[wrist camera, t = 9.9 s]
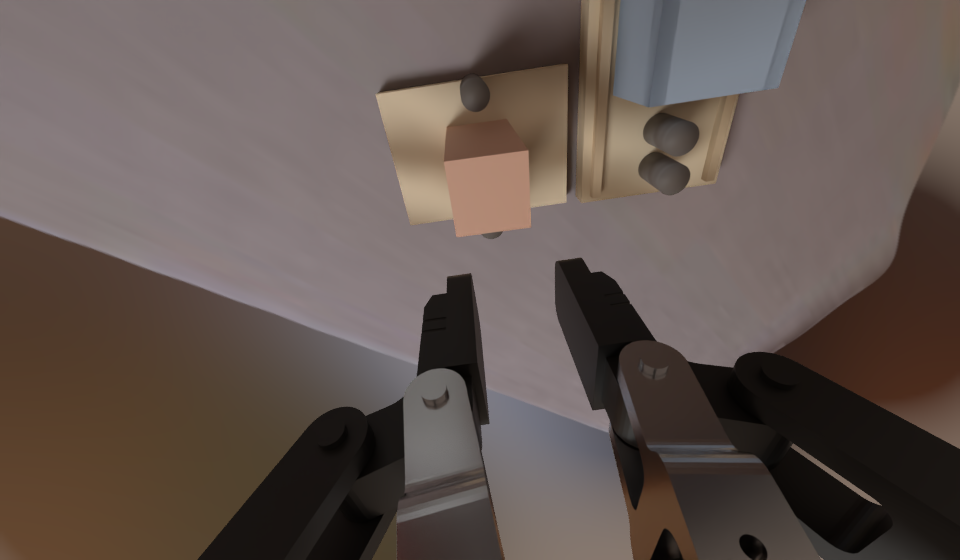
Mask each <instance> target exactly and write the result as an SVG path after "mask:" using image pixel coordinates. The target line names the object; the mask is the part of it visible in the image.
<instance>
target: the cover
mask: <svg viewBox="0 0 960 560" xmlns="http://www.w3.org/2000/svg"><path fill="white" fill-rule="evenodd" d="M805 3H806V0H620V12H619V25H618V37H617V50H616V62H615V75H614V87H613V96H616V97H619V98H622V99H625V100H628V101H631V102H634V103H637V104H640V105H643V106H646V107H655V106H662V105H669V104H675V103H682V102H688V101H695V100H701V99H708V98H715V97H721V96H728V95H734V94H741V93H747V92H754V91H761V90H767V89H774V88H778V87H779V84H780V81H781V78H782V75H783V72H784V68H785V65H786V62H787V59H788V56H789V53H790V50H791V47H792V43H793V40H794V37H795V34H796V31H797V28H798V25H799V21H800V18H801V15H802V12H803V9H804V6H805Z"/></svg>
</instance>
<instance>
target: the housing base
mask: <svg viewBox="0 0 960 560" xmlns="http://www.w3.org/2000/svg"><path fill="white" fill-rule="evenodd" d="M619 12H620V0H581V27H580V61H579V95H578V129H577V163H576V197H577V198H578V199H579V201H580V202H581V203H585V202H591V201H598V200H605V199H612V198H619V197H625V196H632V195H639V194H646V193H653V192H659V191H660V192H662V193H663V194H665V195H674V194H677V193H679V192H680V191H682V190H683V189H684V188H687V187H693V186H700V185H707V184H714V183H716V180H717V176H718V172H719V168H720V165H721V161H722V157H723V153H724V149H725V146H726V142H727V138H728V134H729V131H730V127H731V123H732V119H733V115H734V112H735V108H736V104H737V100H738V97H739V94H734V95H728V96H721V97H715V98H708V99H701V100H695V101H688V102H682V103H675V104H669V105H662V106H655V107H646V106H643V105H640V104H637V103H634V102H631V101H628V100H625V99H622V98H619V97H616V96H613V87H614V75H615V62H616V50H617V37H618V25H619Z"/></svg>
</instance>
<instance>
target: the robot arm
mask: <svg viewBox="0 0 960 560" xmlns="http://www.w3.org/2000/svg"><path fill="white" fill-rule="evenodd" d="M555 305H556V312H557V317H558V320H559V323H560V326H561V328H562V331H563V334H564V336H565V339H566V342H567V344H568V347H569V349H570V352H571V355H572V357H573V360H574V363H575V365H576V368H577V371H578V373H579V376H580V379H581V381H582V384H583V386H584V389H585V392H586V394H587V397H588V400H589V402H590V405H591V408H592V410H599V409H605V410H606V412H607V414H608V417H609V419H610V423H609V436H610V440H611V444H612V449H613V453H614V457H615V461H616V465H617V469H618V473H619V477H620V482H621V486H622V490H623V494H624V498H625V502H626V506H627V511H628V516H629V523H630V540H631V547H632V554H633V559H634V560H821V559H820V557H821V558H823V559H824V560H960V449H959V448H957V447H955V446H953V445H951V444H949V443H947V442H946V441H944V440H942V439H940V438H938V437H936V436H934V435H932V434H930V433H928V432H927V431H925V430H923V429H921V428H919V427H917V426H916V425H914V424H912V423H910V422H908V421H906V420H904V419H902V418H901V417H899V416H897V415H895V414H893V413H891V412H889V411H887V410H885V409H884V408H882V407H880V406H878V405H876V404H874V403H872V402H870V401H869V400H867V399H865V398H863V397H861V396H859V395H857V394H855V393H853V392H852V391H850V390H848V389H846V388H844V387H842V386H840V385H838V384H837V383H835V382H833V381H831V380H829V379H827V378H825V377H824V376H822V375H820V374H818V373H816V372H814V371H812V370H810V369H808V368H807V367H804V366H803V365H801V364H799V363H797V362H795V361H793V360H791V359H789V358H786V357H784V356H780V355H777V354H773V353H767V352H752V353H747V354H744V355H742V356H741V357H739V358H738V359H737V361H736V363H735V365H734V368H731V367H722V366H714V365H705V364H698V363H693V362H689V361H687V360H686V359H685V357H684V356H683V355H682V354H681V353H679V352H678V351H677V350H675V349H674V348H672V347H670V346H668V345H666V344H663V343H660V342H657V341H656V340H655V338H654V337H653V335H652V334H651V332H650V331H649V330H648V328H647V327H646V325H645V324H644V322H643V321H642V319H641V318H640V316H639V315H638V313H637V312H636V310H635V309H634V307H633V306H632V304H630V301H629V300H628V299H627V297H626V296H625V294H623V291H622V290H621V288H620V287H619V285H618V284H617V282H616V281H615V280H614V279H612V278H611V277H609V276H608V275H606V274H605V273H603V272H602V271H601V272H594V273H591V272H590V271H589V269H588V267H587V265H586V264H585V262H584V260H583V259H582V258H575V259H568V260H561V261H556V263H555ZM485 424H489V414H488V403H487V393H486V382H485V371H484V361H483V350H482V340H481V330H480V322H479V315H478V309H477V303H476V297H475V292H474V286H473V280H472V275H471V273H469V274H462V275H456V276H449V277H447V293H446V294H439V295H432V297H431V298H430V300H429V301H428V303H427V304H426V306H425V307H424V315H423V325H422V334H421V343H420V352H419V362H418V371H417V377H416V378H415V379H414V380H413V381H412V382H411V383H410V385H409V386H408V387H407V389H406V391H405V394H404V397H403V398H402V399H400V400H399V401H397V402H396V403H394V404H392V405H390V406H388V407H386V408H384V409H381V410H379V411H376V412H374V413H372V414H369V415H367V416H365V415H364V414H363V413H362V412H361V411H360V410H358V409H356V408H353V407H340V408H336V409H333V410H330V411H328V412H326V413H325V414H323V415H321V416H320V417H319V418H317V419H316V420H315V421H314V422H313V423H312V424H311V425H310V426H309V427H308V428H307V429H306V430H305V431H304V433H303V434H302V435H301V436H300V437H299V439H298V440H297V441H296V442H295V443H294V445H293V446H292V447H291V448H290V449H289V451H288V452H287V453H286V454H285V455H284V457H283V458H282V459H281V460H280V462H279V463H278V464H277V465H276V466H275V467H274V469H273V470H272V471H271V472H270V473H269V475H268V476H267V477H266V478H265V479H264V481H263V482H262V483H261V484H260V485H259V487H258V488H257V489H256V490H255V491H254V493H253V494H252V495H251V496H250V497H249V499H248V500H247V501H246V502H245V503H244V505H243V506H242V507H241V508H240V509H239V511H238V512H237V513H236V514H235V515H234V516H233V518H232V519H231V520H230V521H229V523H228V524H227V525H226V526H225V527H224V528H223V530H222V531H221V532H220V533H219V534H218V536H217V537H216V538H215V539H214V541H213V542H212V543H211V544H210V545H209V547H208V548H207V549H206V550H205V551H204V552H203V554H202V555H201V556H200V557H199V558H198V560H372V558H373V555H374V554H375V552H376V550H377V548H378V546H379V544H380V543H381V541H382V539H383V537H384V535H385V533H386V531H387V529H388V527H389V525H390V523H391V521H392V519H393V517H394V516H395V514H396V512H397V560H505V557H504V552H503V548H502V544H501V539H500V535H499V530H498V526H497V521H496V516H495V512H494V507H493V502H492V498H491V493H490V488H489V484H488V479H487V475H486V470H485V465H484V461H483V456H482V452H481V450H482V436H481V425H485ZM793 443H794V444H795V445H797V446H798V447H800V448H801V449H802V450H804V451H806V452H807V453H809V454H810V455H811V456H813V457H814V458H816V459H817V460H819V461H820V462H821V463H823V464H824V465H826V466H827V467H829V468H830V469H832V470H833V471H835V472H836V473H837V474H839V475H841V476H842V477H843V478H845V479H846V480H848V481H849V482H851V483H852V484H854V485H855V486H856V487H858V488H859V489H861V490H862V491H864V492H865V493H867V494H868V495H870V496H871V497H872V498H874V499H875V500H876V501H877V502H879V503H880V504H881V505H882V506H881V505H877V504H875V503H872V502H870V501H868V500H866V499H864V498H863V497H861V496H860V495H858V494H857V493H855V492H854V491H852V490H851V489H850V488H848V487H847V486H845V485H844V484H843V483H841V482H840V481H838V480H837V479H835V478H834V477H833V476H831V475H829V474H828V473H827V472H825V471H824V470H823V469H821V468H820V467H818V466H817V465H815V464H814V463H812V462H811V461H810V460H808V459H807V458H805V457H804V456H802V455H801V454H800V453H798V452H797V451H795V450H794V449H792V448H791V446H792V444H793ZM819 556H820V557H819Z"/></svg>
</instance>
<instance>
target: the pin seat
mask: <svg viewBox="0 0 960 560" xmlns="http://www.w3.org/2000/svg"><path fill="white" fill-rule="evenodd" d="M376 97H377V101H378V105H379V109H380V112H381V116H382V120H383V124H384V127H385V131H386V135H387V138H388V142H389V146H390V150H391V153H392V157H393V161H394V165H395V168H396V172H397V176H398V180H399V183H400V187H401V191H402V194H403V198H404V202H405V206H406V209H407V213H408V217H409V221H410V224H411V225H416V224H423V223H430V222H436V221H443V220H450V219H453V213H452V207H451V201H450V195H449V189H448V184H447V178H446V172H445V166H444V152H445V139H446V127H451V126H459V125H466V124H473V123H481V122H488V121H495V120H502V119H507V120H508V121H509V123H510V124H511V126H512V127H513V129H514V130H515V132H516V133H517V134H518V136H519V137H520V139H521V140H522V142H523V143H524V145H525V146H526V147H527V149H528V152H529V182H530V208H532V207H538V206H545V205H552V204H559V203H566V185H567V111H568V64H558V65H552V66H545V67H539V68H532V69H526V70H520V71H513V72H507V73H500V74H494V75H487V76H481V77H480V76H478V75H476V74H468V75H466V76H465V77H464V78H463V79H462V80H455V81H449V82H442V83H436V84H430V85H423V86H417V87H410V88H404V89H397V90H391V91H385V92H378V93H377V94H376ZM502 232H503V231H500V232H492V233H485V234H482V235H483V236H484V237H485V238H488V239H494V238H497V237H499V236H500V235H501V234H502Z"/></svg>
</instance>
